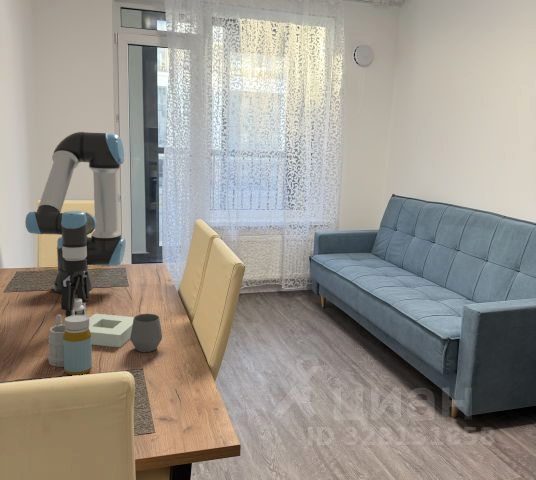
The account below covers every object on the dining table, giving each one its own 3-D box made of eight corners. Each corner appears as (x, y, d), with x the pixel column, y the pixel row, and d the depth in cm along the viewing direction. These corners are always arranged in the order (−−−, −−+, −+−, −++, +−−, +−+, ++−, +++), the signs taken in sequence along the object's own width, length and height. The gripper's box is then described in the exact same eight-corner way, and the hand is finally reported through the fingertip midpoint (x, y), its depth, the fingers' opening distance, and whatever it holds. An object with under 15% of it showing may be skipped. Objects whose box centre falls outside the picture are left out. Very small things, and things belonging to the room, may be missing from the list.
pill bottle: (78, 328, 166) (78, 303, 165) (64, 326, 167) (63, 301, 166) (87, 323, 172) (87, 298, 170) (73, 321, 173) (73, 296, 171)
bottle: (67, 365, 139) (66, 314, 136) (94, 365, 140) (93, 314, 138) (61, 376, 132) (59, 322, 130) (89, 376, 133) (87, 322, 131)
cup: (146, 357, 147) (146, 325, 145) (123, 349, 151) (123, 318, 150) (168, 347, 155) (168, 317, 153) (146, 340, 159) (146, 310, 158)
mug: (49, 369, 136) (48, 327, 134) (44, 353, 146) (43, 314, 144) (79, 364, 140) (78, 324, 138) (72, 349, 150) (71, 310, 148)
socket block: (95, 324, 171) (95, 313, 170) (140, 329, 169) (140, 317, 168) (71, 342, 155) (70, 329, 154) (120, 347, 153) (120, 335, 152)
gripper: (79, 251, 175) (80, 314, 179) (47, 263, 156) (49, 333, 160) (99, 253, 174) (100, 316, 178) (69, 265, 155) (71, 335, 159)
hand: (76, 324), depth 169 cm, fingers open, 7 cm apart
